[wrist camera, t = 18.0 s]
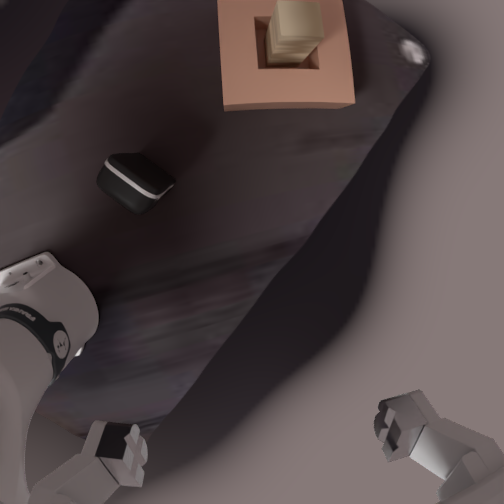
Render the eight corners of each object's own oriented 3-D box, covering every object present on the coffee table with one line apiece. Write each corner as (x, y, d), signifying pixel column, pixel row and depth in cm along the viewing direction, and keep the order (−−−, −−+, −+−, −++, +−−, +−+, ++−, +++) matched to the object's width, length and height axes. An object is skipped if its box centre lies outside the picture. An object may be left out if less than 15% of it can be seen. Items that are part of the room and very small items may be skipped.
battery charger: (121, 174, 38) (85, 184, 28) (137, 150, 38) (104, 152, 27) (162, 203, 40) (138, 224, 29) (178, 180, 39) (159, 192, 28)
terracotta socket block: (224, 111, 37) (223, 105, 31) (218, 11, 32) (216, -8, 26) (338, 108, 37) (355, 103, 32) (327, 12, 33) (341, -5, 27)
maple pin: (265, 67, 34) (281, 35, 23) (263, 39, 33) (277, 0, 21) (297, 67, 34) (324, 37, 23) (294, 40, 33) (319, 2, 21)
